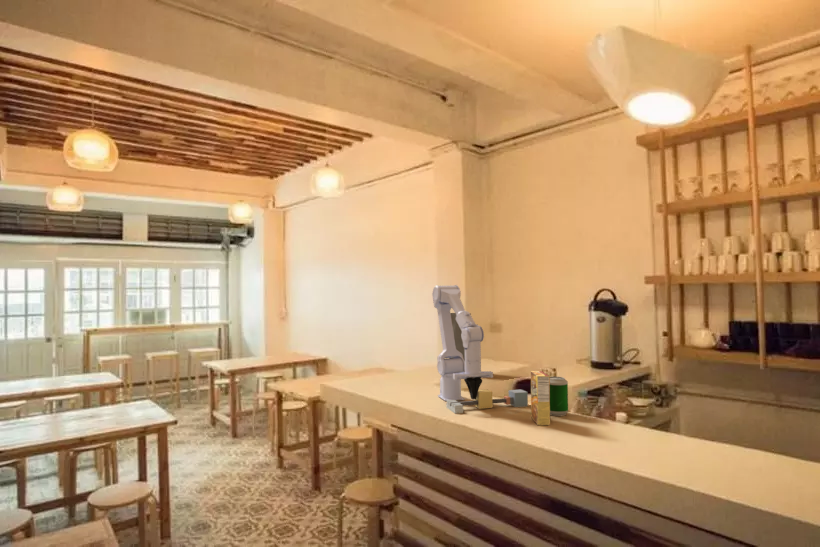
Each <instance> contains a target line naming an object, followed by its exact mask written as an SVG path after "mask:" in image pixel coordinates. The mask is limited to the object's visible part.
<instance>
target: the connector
mask: <svg viewBox="0 0 820 547" xmlns="http://www.w3.org/2000/svg"><path fill="white" fill-rule="evenodd" d="M528 393H529V392H528V391H526V390H524V389H509V390H508V395H507V396H508V397H510V405H509V406H512V407H514V408H521V407H522V408H523V407H528V404H529V403H528V402H529V401H528V398H529V397H528V396H529V394H528Z"/></svg>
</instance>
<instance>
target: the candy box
mask: <svg viewBox="0 0 820 547" xmlns="http://www.w3.org/2000/svg"><path fill="white" fill-rule="evenodd" d="M550 377H551V376H550V375H549V374H547V373H546V372H544V371H542V370H540V371H539V370H531V371H530V416H531V417H530V418H531V419H532V420H533V422H535V424H536V425H537V426H551V415H550Z"/></svg>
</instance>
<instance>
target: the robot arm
mask: <svg viewBox="0 0 820 547" xmlns="http://www.w3.org/2000/svg"><path fill="white" fill-rule="evenodd" d="M461 291H462V290H461V289H460V287H459V285H458V284H455V285H438V284H436V285H434V287H433V289H432V293H431V296H432V303H433V308H435V309H436V310H437V317H438V324H439V332H440V337H441V344H442V351H441V352H440V353H439V354H438V356H437V364H436V368H437V372H438V373H439V375H440V376H441V377H440V379H439V394H437V397H438V398H440V399H441V400H444V402H447V400H456V401H464V400H465V401H466V398H465V397H463V396H462V380H464V381H463V382H465V384H466V386H467V390H468V392H469V395H470V396H469V397H470V399H471V400H472V401H475V399H476V397H477V393H478V390H480V387H481V385H482V383H483V379H484V378H490V379H492V378H494V373H493V371H490V370H489V371H488V370H487V371H486V370H485V371H482V351H481V350H482V349H481V348H482V347H481V346H482V345H481V342H483V341H484V338H485V336H484V335H485V334H484V333H485V332H484V330H483V327H482V326H481V325H479V324H476V321H475V320H474V318H473V316H472V314H471V315H470V313H471V312H470V311H468V310H465V307H464V304H463V302H462V299H461V295H462V293H461ZM451 310H452V311H453V313H456V315H457V316H456V321H457V323H458V325H459V327H460V329H461V331H462V334H461V337H462V341H463V347H465V361H464V359H463V355H462V353H460V352H459V351H458V350H456V346H455V340H454V333H453V327H452V320H451V314H450V313H451ZM464 371H465V372H464Z"/></svg>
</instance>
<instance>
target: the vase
mask: <svg viewBox="0 0 820 547" xmlns="http://www.w3.org/2000/svg"><path fill="white" fill-rule="evenodd" d="M469 313H470V315H471V316H472V313H471V312H469ZM450 314H451V320H452V327H453V333H454V340H455V346H456V350H458V351H459V352H460V353H462V355H463V359H464V361H465V347H463V341H462V337H461V334H462V331H461V329H460V327H459V325H458V323H457V321H456V316H457V315H456V313H455V312H450ZM464 372H465V371H464Z"/></svg>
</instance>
